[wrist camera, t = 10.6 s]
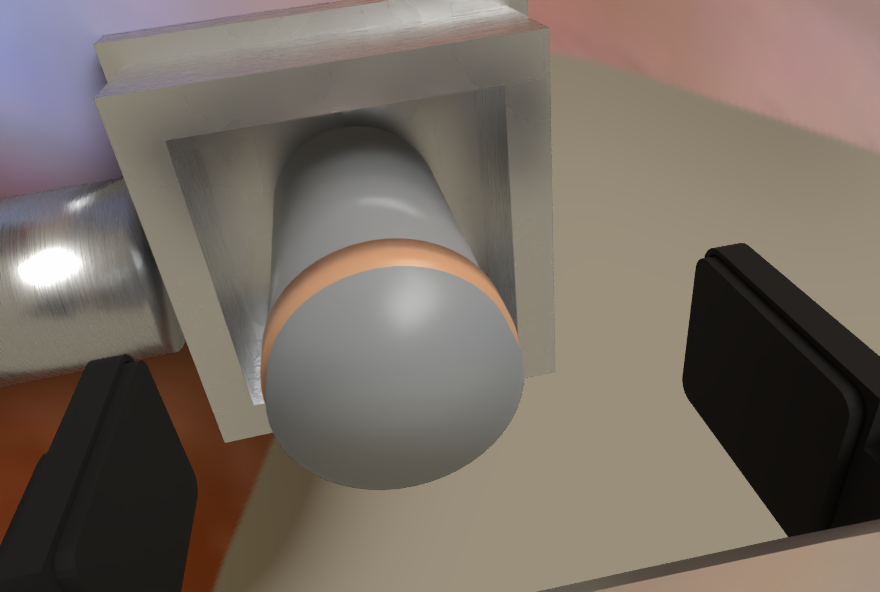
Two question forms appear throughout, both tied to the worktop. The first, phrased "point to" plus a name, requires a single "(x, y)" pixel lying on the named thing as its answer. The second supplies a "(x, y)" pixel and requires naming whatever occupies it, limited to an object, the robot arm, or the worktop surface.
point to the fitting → (275, 181)
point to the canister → (380, 320)
